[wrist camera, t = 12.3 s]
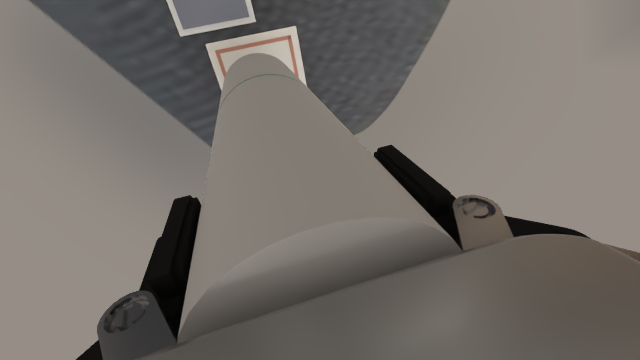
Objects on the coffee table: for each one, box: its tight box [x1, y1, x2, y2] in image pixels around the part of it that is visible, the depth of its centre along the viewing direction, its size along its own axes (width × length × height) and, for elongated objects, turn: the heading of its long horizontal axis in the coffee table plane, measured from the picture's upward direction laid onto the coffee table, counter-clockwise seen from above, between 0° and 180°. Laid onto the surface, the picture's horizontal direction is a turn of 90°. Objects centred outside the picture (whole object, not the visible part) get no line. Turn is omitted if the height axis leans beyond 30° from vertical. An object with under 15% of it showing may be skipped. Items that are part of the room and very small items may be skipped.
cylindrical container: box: [177, 53, 462, 344], centre depth 17 cm, size 7×7×25 cm
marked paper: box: [205, 26, 307, 91], centre depth 43 cm, size 13×13×1 cm
